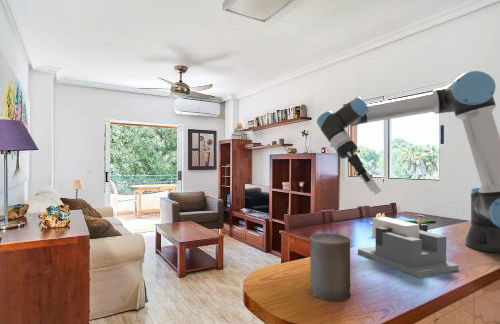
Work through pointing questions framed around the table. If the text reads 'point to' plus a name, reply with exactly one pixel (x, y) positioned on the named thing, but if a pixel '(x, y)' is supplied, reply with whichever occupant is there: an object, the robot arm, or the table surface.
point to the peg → (396, 226)
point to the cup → (423, 227)
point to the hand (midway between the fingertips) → (376, 191)
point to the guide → (410, 252)
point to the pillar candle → (330, 266)
